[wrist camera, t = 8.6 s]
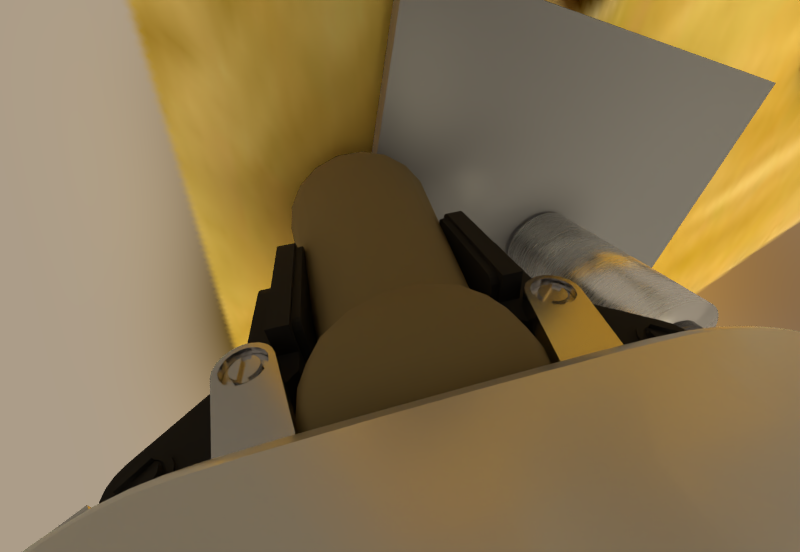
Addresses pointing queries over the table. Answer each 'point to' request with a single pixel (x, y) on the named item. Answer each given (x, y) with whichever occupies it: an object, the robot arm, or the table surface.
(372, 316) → the cork
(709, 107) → the dial plate
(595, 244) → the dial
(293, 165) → the table surface
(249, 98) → the table surface
